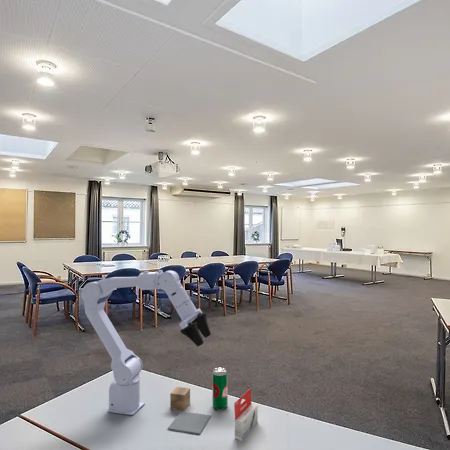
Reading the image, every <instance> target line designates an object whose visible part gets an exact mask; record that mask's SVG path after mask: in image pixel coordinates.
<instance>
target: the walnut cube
mask: <svg viewBox="0 0 450 450" xmlns="http://www.w3.org/2000/svg"><path fill="white" fill-rule="evenodd" d="M169 395H170V396H169V397H170V400H169V401H170V405H169V406H170V407H169V408H170V409H172V410H178V411H185V410H186V409H187V408H188V407H189V405H190V404H191V388H190V387H182V386H176V387H175V388H173V390H172V391H171V392H170V394H169Z"/></svg>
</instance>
